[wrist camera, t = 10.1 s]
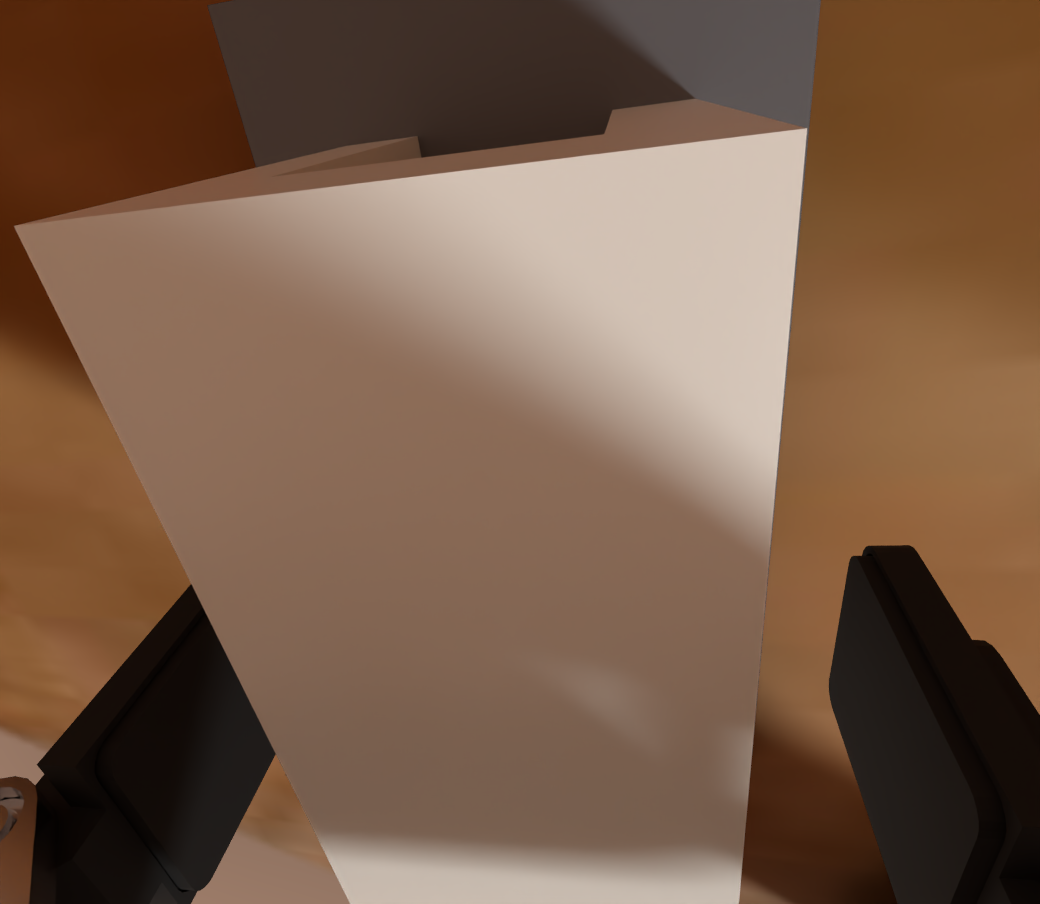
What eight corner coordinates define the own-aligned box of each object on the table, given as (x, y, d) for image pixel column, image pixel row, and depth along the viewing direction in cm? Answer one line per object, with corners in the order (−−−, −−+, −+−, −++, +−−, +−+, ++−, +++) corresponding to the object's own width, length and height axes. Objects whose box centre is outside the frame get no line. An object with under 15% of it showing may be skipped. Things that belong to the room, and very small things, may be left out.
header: (260, 15, 10) (-62, -44, 5) (799, -82, 9) (1015, -280, 4) (456, 742, 19) (401, 964, 14) (737, 756, 17) (780, 1008, 13)
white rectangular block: (346, 146, 9) (14, 225, 4) (695, 98, 8) (806, 127, 3) (487, 746, 16) (425, 1055, 11) (688, 756, 15) (721, 1097, 10)
